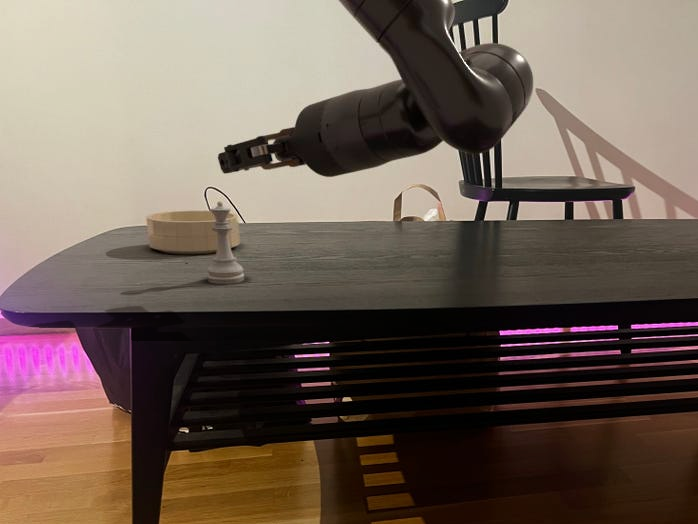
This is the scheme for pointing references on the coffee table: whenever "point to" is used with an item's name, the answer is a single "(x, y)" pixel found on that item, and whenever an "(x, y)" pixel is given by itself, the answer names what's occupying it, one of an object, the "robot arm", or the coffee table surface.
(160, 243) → the bowl
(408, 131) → the robot arm
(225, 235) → the chess piece
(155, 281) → the coffee table surface
